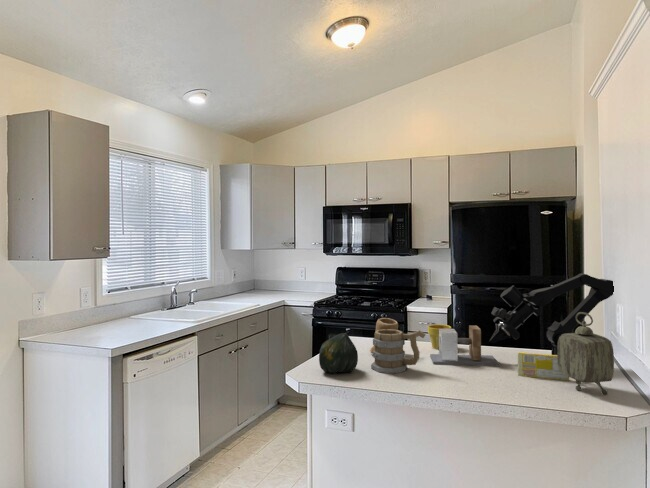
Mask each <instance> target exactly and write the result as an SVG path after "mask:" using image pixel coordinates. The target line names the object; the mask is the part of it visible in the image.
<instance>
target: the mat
mask: <svg viewBox="0 0 650 488" xmlns="http://www.w3.org/2000/svg"><path fill="white" fill-rule="evenodd" d="M429 355H430V356H429V357H430V360H431V361H432V364H433V365H447V366H449V365H450V366H451V365H453V366H454V365H455V366H484V367H486V366H488V367H500V365H501V364H500V362H499V361H498V360H497V359H496V357H495V356H493V355H491V354H490V355H482V354H481V361H480V360H473V359H472V358H471V357H470V355H469V354H458V361H442V360H441V358H440V356H439V353H430V354H429Z"/></svg>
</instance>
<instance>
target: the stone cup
mask: <svg viewBox="0 0 650 488" xmlns="http://www.w3.org/2000/svg"><path fill="white" fill-rule="evenodd" d="M383 329H386V330H387V329H392V330H399V322H398V321H397V320H395V319H393V318H389V317H381V318H378V319H377V321H376V323H375V332H376V331H377V330H383ZM374 350H375V345H373V346H372V347H371V348H370V350H369V352H370V354H373V351H374Z"/></svg>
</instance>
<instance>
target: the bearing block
mask: <svg viewBox="0 0 650 488" xmlns="http://www.w3.org/2000/svg"><path fill="white" fill-rule="evenodd" d="M457 338H458V332H457V331H456V329H455V328H451V329H439V349H438V354H439V356H440V358H441V360H442V361H458V355H459V354H458V345H459V344H458V343H457Z"/></svg>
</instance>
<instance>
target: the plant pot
mask: <svg viewBox="0 0 650 488" xmlns="http://www.w3.org/2000/svg"><path fill="white" fill-rule="evenodd" d="M439 329H452V326H450V325H447V324H429V325H427V334H428V335H429V338H430V342H431V348H432V349H434V350H439Z"/></svg>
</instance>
